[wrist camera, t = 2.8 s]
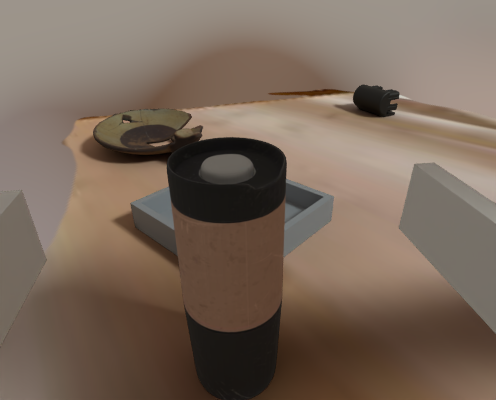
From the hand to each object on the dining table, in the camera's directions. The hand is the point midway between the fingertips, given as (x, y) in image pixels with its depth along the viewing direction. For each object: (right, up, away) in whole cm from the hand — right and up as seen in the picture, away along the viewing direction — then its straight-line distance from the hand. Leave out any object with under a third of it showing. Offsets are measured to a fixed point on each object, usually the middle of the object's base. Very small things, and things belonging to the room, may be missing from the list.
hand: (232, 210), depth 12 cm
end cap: (+35, +24, +87) cm, 97 cm away
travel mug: (-1, -15, +20) cm, 25 cm away
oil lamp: (-20, +11, +65) cm, 69 cm away
